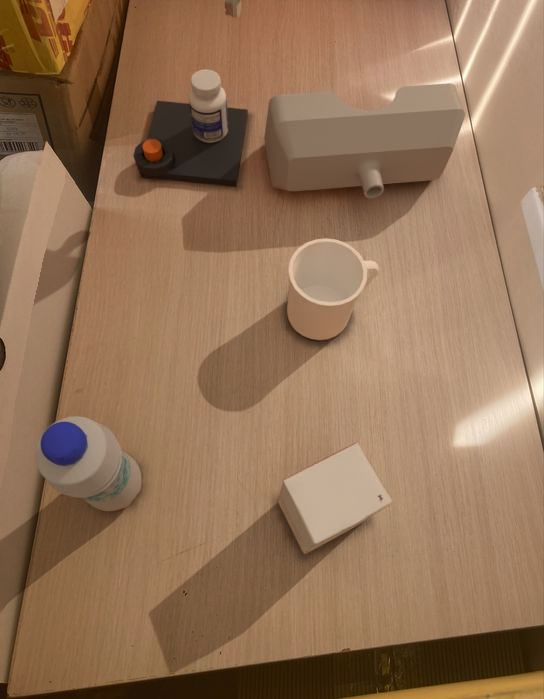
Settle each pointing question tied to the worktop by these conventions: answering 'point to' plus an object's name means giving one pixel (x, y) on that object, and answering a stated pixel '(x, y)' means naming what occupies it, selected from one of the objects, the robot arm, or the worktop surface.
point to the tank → (361, 139)
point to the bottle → (87, 463)
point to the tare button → (152, 150)
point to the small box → (331, 497)
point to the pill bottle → (208, 106)
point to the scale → (192, 148)
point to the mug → (325, 287)
